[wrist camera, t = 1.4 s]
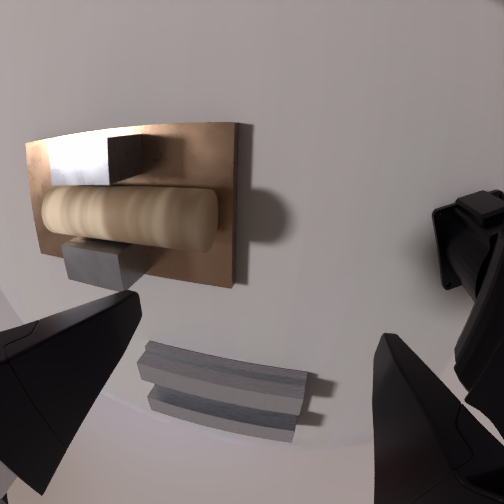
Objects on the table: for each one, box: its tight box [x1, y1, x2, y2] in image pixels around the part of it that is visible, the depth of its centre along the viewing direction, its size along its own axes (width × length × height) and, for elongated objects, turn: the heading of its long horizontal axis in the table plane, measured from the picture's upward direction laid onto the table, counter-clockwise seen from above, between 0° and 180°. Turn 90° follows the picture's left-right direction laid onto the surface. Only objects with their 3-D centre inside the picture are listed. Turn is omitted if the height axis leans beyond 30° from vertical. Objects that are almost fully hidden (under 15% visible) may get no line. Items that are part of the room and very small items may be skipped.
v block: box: [137, 341, 307, 443], centre depth 28 cm, size 16×9×3 cm, turn 88°
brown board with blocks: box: [26, 122, 239, 292], centre depth 21 cm, size 22×12×5 cm, turn 88°
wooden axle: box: [41, 186, 218, 253], centre depth 20 cm, size 14×4×4 cm, turn 88°
